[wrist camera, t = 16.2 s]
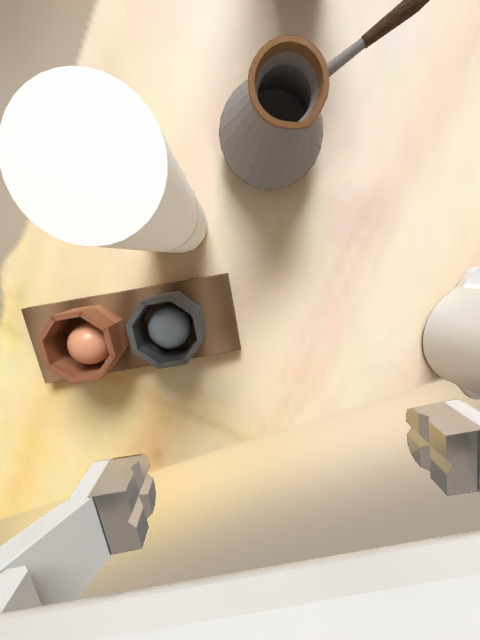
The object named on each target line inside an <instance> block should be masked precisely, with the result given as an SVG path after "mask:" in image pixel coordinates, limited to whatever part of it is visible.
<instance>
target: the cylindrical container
mask: <svg viewBox="0 0 480 640" xmlns="http://www.w3.org/2000/svg"><path fill="white" fill-rule="evenodd" d="M0 168H1V171H2V175H3V179H4V181H5V183H6V186H7V188H8V190H9V192H10V194H11V196H12V198H13V199H14V201H15V202H16V203H17V205H18V207H19V208H20V209H21V211H22V212H23V213H24V214H25V215H26V216H27V217H28V218H29V219H30V220H31V221H32V222H33V223H34V224H35V225H37V226H38V227H39V228H41V229H42V230H43V231H45V232H46V233H48V234H49V235H52V236H54V237H56V238H58V239H60V240H62V241H65V242H68V243H72V244H76V245H80V246H93V247H106V248H118V249H131V250H144V251H156V252H169V253H186V252H189V251H191V250H193V249H195V248H196V247H197V246H198V245H200V243H201V242H202V241H203V239H204V237H205V235H206V231H207V218H206V215H205V212H204V210H203V208H202V206H201V204H200V202H199V200H198V198H197V197H196V195H195V193H194V191H193V189H192V187H191V185H190V183H189V182H188V180H187V178H186V176H185V174H184V172H183V170H182V168H181V166H180V164H179V162H178V161H177V159H176V157H175V155H174V153H173V151H172V149H171V147H170V145H169V144H168V142H167V140H166V138H165V136H164V134H163V132H162V130H161V129H160V127H159V125H158V123H157V121H156V119H155V117H154V116H153V114H152V112H151V110H150V109H149V108H148V106H147V105H146V104H145V103H144V101H143V100H142V99H141V98H140V96H139V95H138V94H137V93H136V92H134V91H133V90H132V89H131V88H130V87H128V86H127V85H126V84H125V83H124V82H122V81H120V80H119V79H117V78H115V77H113V76H111V75H110V74H108V73H106V72H102V71H99V70H96V69H93V68H90V67H80V66H65V67H58V68H53V69H50V70H48V71H45V72H42V73H40V74H38V75H37V76H35V77H33V78H32V79H30V80H29V81H27V82H26V83H25V84H24V85H23V86H22V87H21V88H20V89H19V90H18V91H17V92H16V94H14V96H13V98H12V99H11V101H10V103H9V104H8V106H7V108H6V109H5V112H4V115H3V118H2V121H1V125H0Z"/></svg>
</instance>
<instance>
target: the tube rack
mask: <svg viewBox="0 0 480 640" xmlns="http://www.w3.org/2000/svg"><path fill="white" fill-rule="evenodd" d="M167 306H172V307H177V308H179V309H181V310H183V311H184V312H185V313H186V314H187V316H188V317H189V319H190V322H191V332H190V335H189V337H188V339H187V340H186V341H185V342H184V343H183V344H182V345H180V346H178V347H175V348H164V347H161V346H159V345H157V344H156V343H155V342H154V341H153V340H152V339H151V337H150V335H149V331H148V323H149V320H150V318H151V316H152V315H153V313H154V312H156V311H157V310H158V309H160V308H163V307H167ZM21 310H22V313H23V316H24V319H25V323H26V326H27V329H28V332H29V335H30V338H31V341H32V344H33V347H34V350H35V353H36V356H37V359H38V362H39V366H40V369H41V372H42V375H43V378H44V381H45V383H51V382H56V381H62V380H66V381H67V382H69V383H71V384H74V383H80V382H85V381H91V380H97V379H101V378H102V377H103V376H104V375H105V374H106V373H109V372H115V371H120V370H126V369H132V368H138V367H144V366H149V365H152V366H154V367H156V368H157V369H161V368H167V367H173V366H178V365H184V364H187V363H188V361H189V360H190V359H191V358H196V357H202V356H208V355H213V354H219V353H225V352H231V351H237V350H241V346H240V340H239V335H238V329H237V323H236V317H235V312H234V306H233V300H232V294H231V289H230V283H229V277H228V273H226V274H220V275H214V276H208V277H203V278H197V279H191V280H185V281H179V282H173V283H168V284H162V285H156V286H150V287H144V288H138V289H133V290H127V291H121V292H115V293H109V294H103V295H98V296H92V297H86V298H80V299H74V300H68V301H62V302H57V303H51V304H45V305H39V306H33V307H28V308H24V309H21ZM84 323H91V324H93V325H94V326H96V327H97V328H99V329H101V330H102V331H103V333H104V337H105V340H106V344H107V348H108V351H109V356H108V357H107V358H106V359H105V360H103V361H102V362H99V363H96V364H83V363H80V362H78V361H76V360H75V359H74V358H73V357H72V356H71V355H70V353H69V351H68V348H67V340H68V337H69V335H70V333H71V332H72V330H73V329H75V328H76V327H77V326H79V325H81V324H84Z"/></svg>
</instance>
